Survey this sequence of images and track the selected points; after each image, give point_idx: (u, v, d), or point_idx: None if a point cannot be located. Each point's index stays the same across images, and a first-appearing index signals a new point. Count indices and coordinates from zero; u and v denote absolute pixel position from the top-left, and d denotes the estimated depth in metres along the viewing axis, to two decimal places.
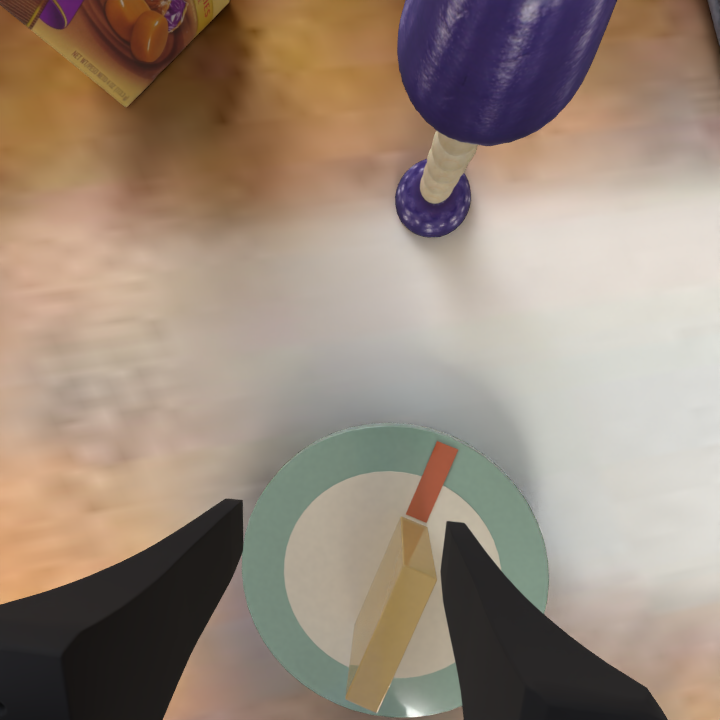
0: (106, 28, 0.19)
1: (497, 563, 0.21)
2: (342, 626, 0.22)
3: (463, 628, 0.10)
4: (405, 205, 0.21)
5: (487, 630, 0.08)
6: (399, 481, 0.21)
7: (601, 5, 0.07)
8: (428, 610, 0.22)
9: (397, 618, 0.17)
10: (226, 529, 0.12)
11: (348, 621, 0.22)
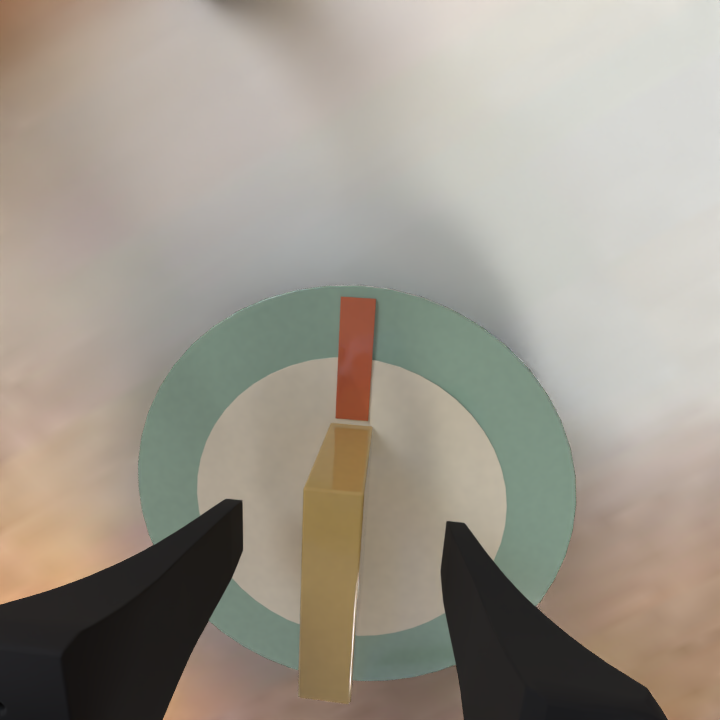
0: None
1: (487, 445, 0.14)
2: None
3: (463, 628, 0.10)
4: None
5: (487, 630, 0.08)
6: (310, 374, 0.14)
7: None
8: (413, 536, 0.15)
9: (325, 569, 0.10)
10: (226, 529, 0.12)
11: None
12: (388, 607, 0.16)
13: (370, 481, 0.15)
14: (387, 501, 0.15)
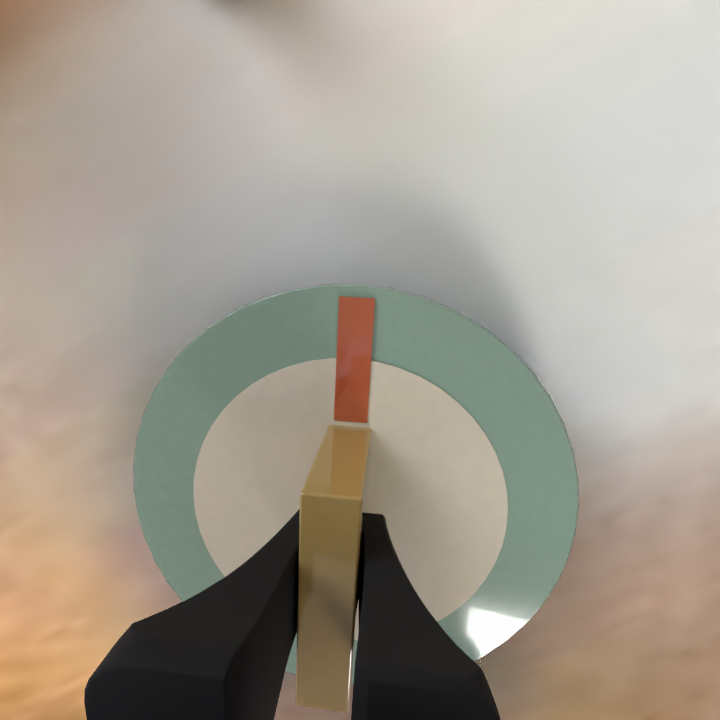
0: None
1: (488, 448, 0.14)
2: None
3: None
4: None
5: None
6: (307, 375, 0.14)
7: None
8: (413, 539, 0.15)
9: (323, 575, 0.10)
10: None
11: None
12: None
13: (369, 484, 0.14)
14: (386, 504, 0.15)
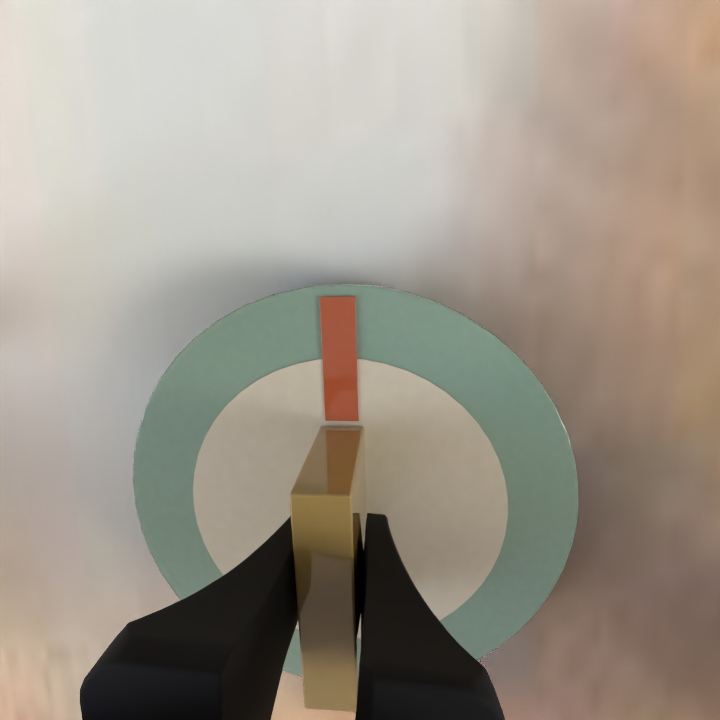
0: None
1: (482, 437, 0.14)
2: None
3: (364, 616, 0.11)
4: None
5: None
6: (296, 378, 0.14)
7: None
8: (415, 534, 0.15)
9: (319, 575, 0.10)
10: None
11: None
12: None
13: (366, 482, 0.14)
14: (385, 501, 0.15)
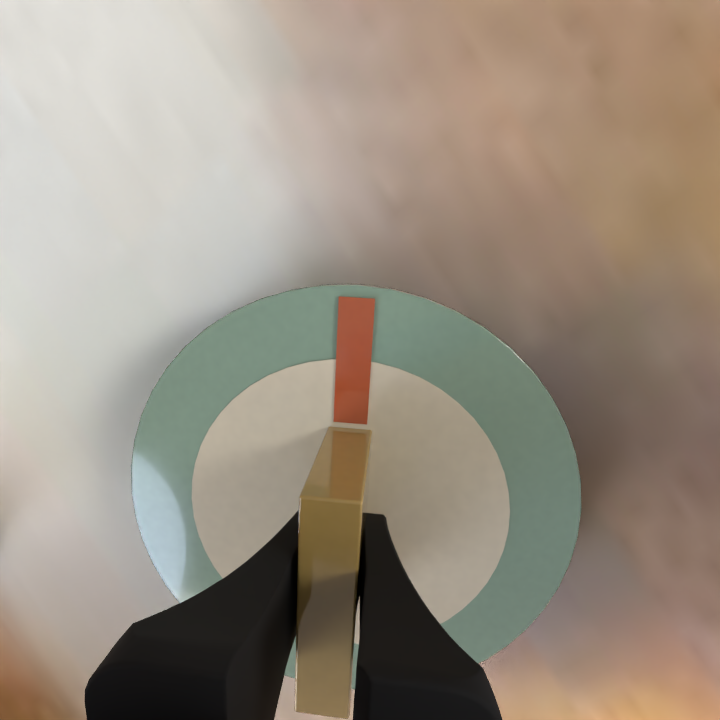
0: None
1: (490, 450, 0.14)
2: None
3: None
4: None
5: None
6: (307, 376, 0.14)
7: None
8: (413, 542, 0.15)
9: (322, 580, 0.10)
10: None
11: None
12: None
13: (369, 486, 0.14)
14: (387, 507, 0.14)
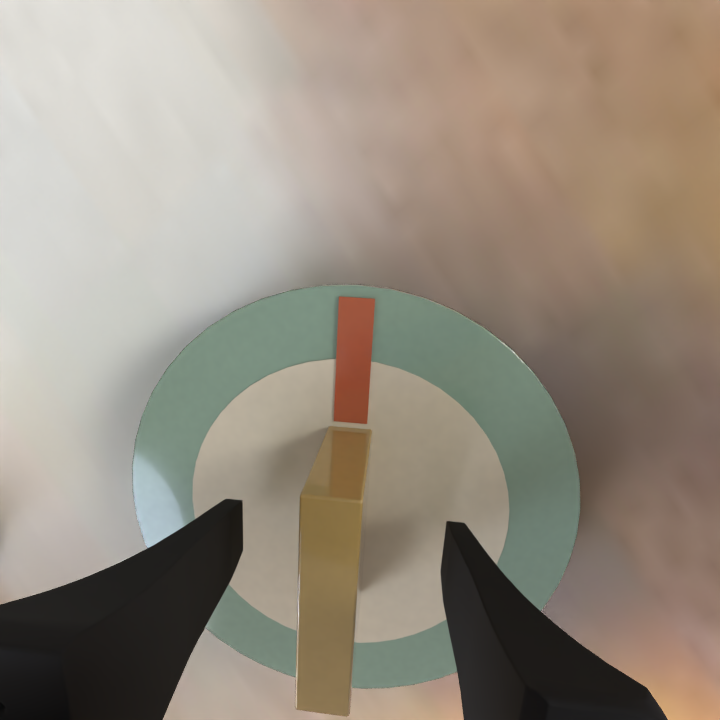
0: None
1: (489, 449, 0.14)
2: None
3: (463, 628, 0.10)
4: None
5: (487, 630, 0.08)
6: (307, 376, 0.14)
7: None
8: (413, 541, 0.15)
9: (323, 578, 0.10)
10: (226, 529, 0.12)
11: None
12: (388, 614, 0.16)
13: (369, 485, 0.14)
14: (387, 506, 0.14)
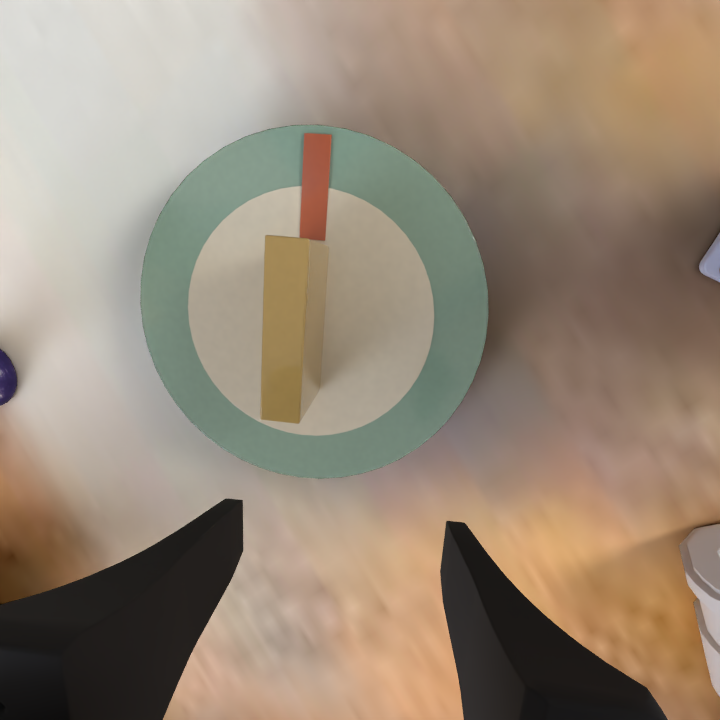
0: None
1: (418, 262, 0.18)
2: None
3: (463, 628, 0.10)
4: None
5: (487, 630, 0.08)
6: (279, 201, 0.18)
7: None
8: (361, 344, 0.19)
9: (280, 304, 0.14)
10: (226, 529, 0.12)
11: None
12: (341, 408, 0.20)
13: (326, 294, 0.18)
14: (340, 312, 0.19)
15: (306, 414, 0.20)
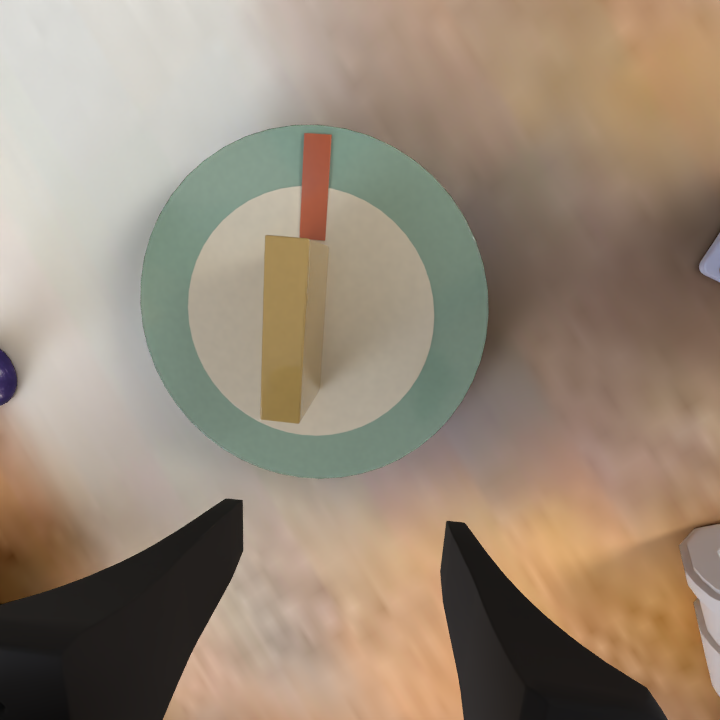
0: None
1: (418, 262, 0.18)
2: None
3: (463, 628, 0.10)
4: None
5: (487, 630, 0.08)
6: (279, 201, 0.18)
7: None
8: (361, 344, 0.19)
9: (280, 304, 0.14)
10: (226, 529, 0.12)
11: None
12: (341, 408, 0.20)
13: (326, 294, 0.18)
14: (340, 312, 0.19)
15: (306, 414, 0.20)
